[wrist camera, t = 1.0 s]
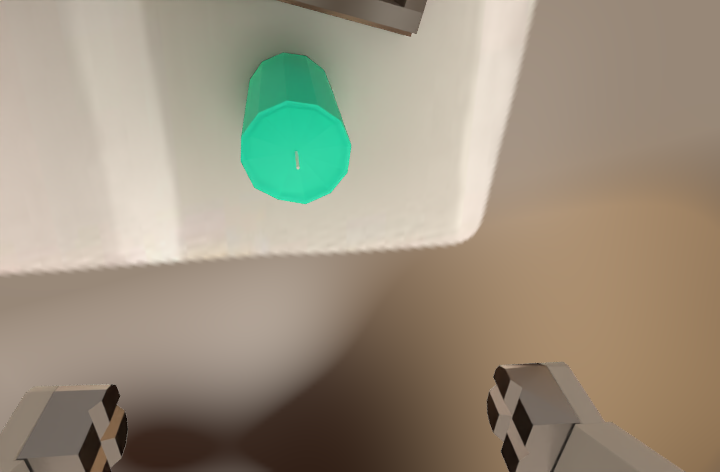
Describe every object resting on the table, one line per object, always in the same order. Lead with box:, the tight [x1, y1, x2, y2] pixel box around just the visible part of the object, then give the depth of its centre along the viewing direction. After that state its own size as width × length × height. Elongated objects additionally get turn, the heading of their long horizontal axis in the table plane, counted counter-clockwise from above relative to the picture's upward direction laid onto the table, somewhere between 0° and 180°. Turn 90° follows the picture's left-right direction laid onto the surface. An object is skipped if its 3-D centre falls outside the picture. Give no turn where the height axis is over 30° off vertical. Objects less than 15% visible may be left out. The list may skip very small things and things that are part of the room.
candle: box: [241, 53, 351, 204], centre depth 29 cm, size 6×6×12 cm
